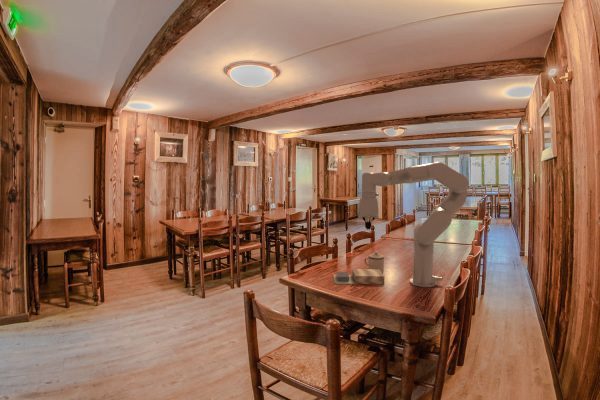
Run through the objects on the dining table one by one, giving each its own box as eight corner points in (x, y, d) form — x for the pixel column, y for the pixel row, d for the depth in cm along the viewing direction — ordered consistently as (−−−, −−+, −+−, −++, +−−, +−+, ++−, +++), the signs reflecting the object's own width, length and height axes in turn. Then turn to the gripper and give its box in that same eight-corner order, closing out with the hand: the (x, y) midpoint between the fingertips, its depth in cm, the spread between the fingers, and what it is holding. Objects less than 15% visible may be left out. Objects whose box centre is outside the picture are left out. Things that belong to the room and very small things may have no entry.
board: (379, 276, 176) (379, 269, 175) (384, 284, 163) (384, 276, 162) (352, 275, 176) (352, 268, 176) (355, 283, 163) (355, 276, 163)
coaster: (336, 271, 175) (336, 276, 175) (337, 276, 166) (337, 281, 166) (347, 271, 174) (347, 276, 175) (349, 277, 165) (349, 281, 166)
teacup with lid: (386, 270, 186) (386, 251, 185) (380, 274, 179) (380, 254, 178) (367, 267, 193) (367, 248, 193) (361, 270, 186) (361, 251, 185)
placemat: (351, 275, 177) (351, 274, 177) (354, 284, 162) (354, 283, 162) (333, 275, 178) (333, 274, 178) (335, 284, 163) (335, 283, 163)
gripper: (381, 195, 173) (380, 228, 174) (353, 195, 173) (353, 228, 175) (384, 195, 165) (383, 230, 167) (355, 195, 166) (355, 230, 167)
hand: (368, 229), depth 171 cm, fingers closed
